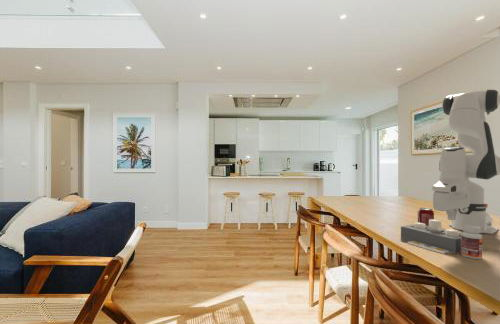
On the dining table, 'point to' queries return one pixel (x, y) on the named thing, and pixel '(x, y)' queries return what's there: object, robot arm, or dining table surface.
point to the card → (428, 247)
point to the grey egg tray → (432, 238)
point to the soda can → (425, 215)
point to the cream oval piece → (419, 225)
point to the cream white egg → (435, 226)
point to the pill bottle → (471, 242)
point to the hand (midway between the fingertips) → (451, 219)
